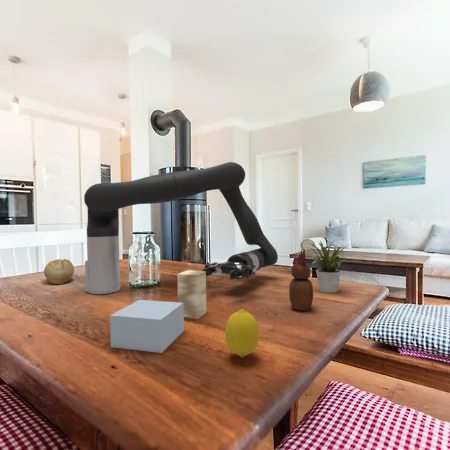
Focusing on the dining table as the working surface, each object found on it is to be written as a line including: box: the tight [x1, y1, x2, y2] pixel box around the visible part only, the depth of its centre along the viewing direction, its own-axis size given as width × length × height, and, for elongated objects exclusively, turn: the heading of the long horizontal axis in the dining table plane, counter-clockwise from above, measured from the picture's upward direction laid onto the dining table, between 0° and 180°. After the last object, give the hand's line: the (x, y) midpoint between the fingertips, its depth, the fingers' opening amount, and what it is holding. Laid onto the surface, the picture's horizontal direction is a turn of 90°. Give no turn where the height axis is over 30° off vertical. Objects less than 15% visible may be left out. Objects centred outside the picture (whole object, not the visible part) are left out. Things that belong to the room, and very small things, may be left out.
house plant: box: [305, 237, 351, 294], centre depth 92 cm, size 14×14×16 cm
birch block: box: [176, 269, 207, 320], centre depth 71 cm, size 5×5×10 cm
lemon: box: [224, 308, 260, 359], centre depth 50 cm, size 6×6×8 cm
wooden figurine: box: [288, 248, 314, 312], centre depth 75 cm, size 7×6×15 cm
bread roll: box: [43, 258, 75, 285], centre depth 109 cm, size 10×15×8 cm, turn 35°
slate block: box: [109, 299, 185, 354], centre depth 58 cm, size 10×10×6 cm
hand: (217, 274), depth 81 cm, fingers open, 8 cm apart
